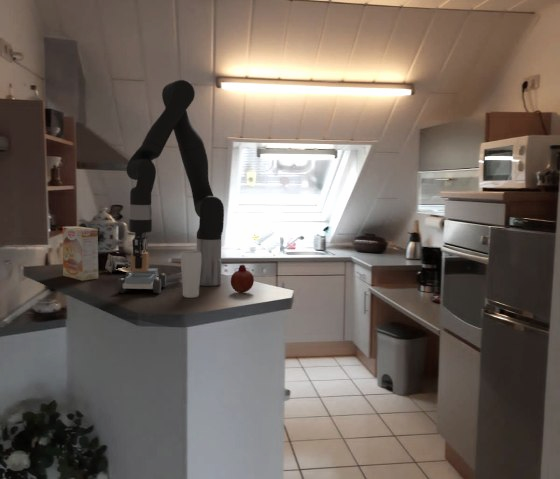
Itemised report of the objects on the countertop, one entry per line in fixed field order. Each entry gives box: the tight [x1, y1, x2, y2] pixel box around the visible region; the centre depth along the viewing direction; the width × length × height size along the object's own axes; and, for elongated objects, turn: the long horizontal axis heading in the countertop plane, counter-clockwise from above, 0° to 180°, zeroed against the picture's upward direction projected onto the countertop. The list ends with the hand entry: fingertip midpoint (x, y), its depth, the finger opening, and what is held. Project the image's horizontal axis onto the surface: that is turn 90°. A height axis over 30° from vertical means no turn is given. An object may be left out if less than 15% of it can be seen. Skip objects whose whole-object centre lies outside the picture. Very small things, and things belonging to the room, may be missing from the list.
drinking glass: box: [180, 250, 201, 299], centre depth 178 cm, size 7×7×15 cm
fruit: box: [230, 264, 255, 294], centre depth 186 cm, size 8×8×10 cm
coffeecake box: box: [61, 226, 99, 282], centre depth 208 cm, size 15×7×20 cm, turn 49°
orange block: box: [130, 251, 150, 271], centre depth 184 cm, size 5×5×6 cm
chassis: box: [116, 267, 167, 294], centre depth 187 cm, size 14×16×6 cm
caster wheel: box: [105, 253, 131, 274], centre depth 223 cm, size 7×11×10 cm
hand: (140, 267), depth 184 cm, fingers closed on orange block, 5 cm apart
